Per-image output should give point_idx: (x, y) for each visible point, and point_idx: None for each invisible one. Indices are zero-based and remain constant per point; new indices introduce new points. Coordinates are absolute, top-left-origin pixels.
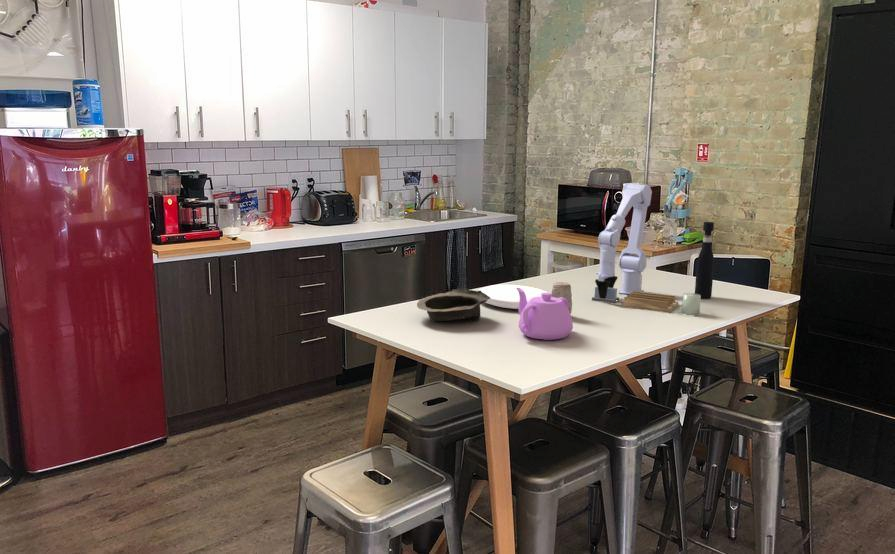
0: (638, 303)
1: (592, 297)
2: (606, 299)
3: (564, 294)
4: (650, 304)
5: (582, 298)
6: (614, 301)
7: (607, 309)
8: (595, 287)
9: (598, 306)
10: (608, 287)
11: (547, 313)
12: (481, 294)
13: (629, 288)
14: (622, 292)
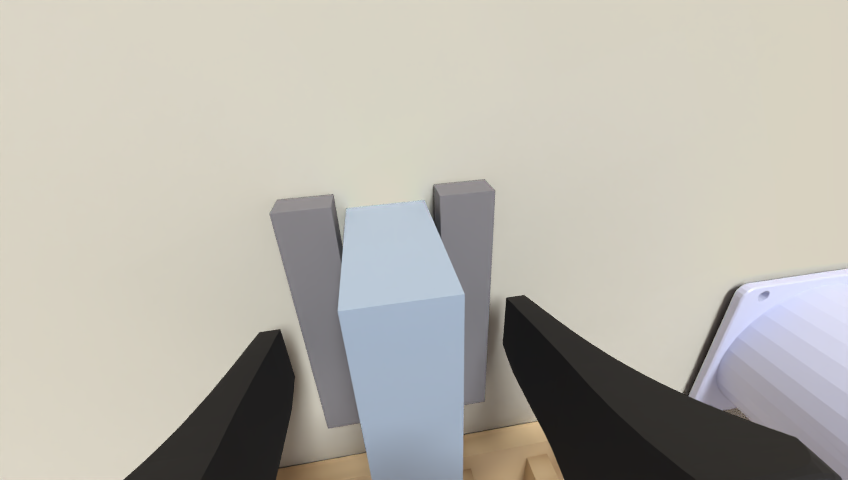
0: None
1: (289, 215)
2: (313, 368)
3: None
4: None
5: (287, 33)
6: (327, 419)
7: (30, 467)
8: (339, 315)
9: (52, 376)
10: (462, 441)
11: None
12: None
13: (760, 400)
14: (737, 320)
